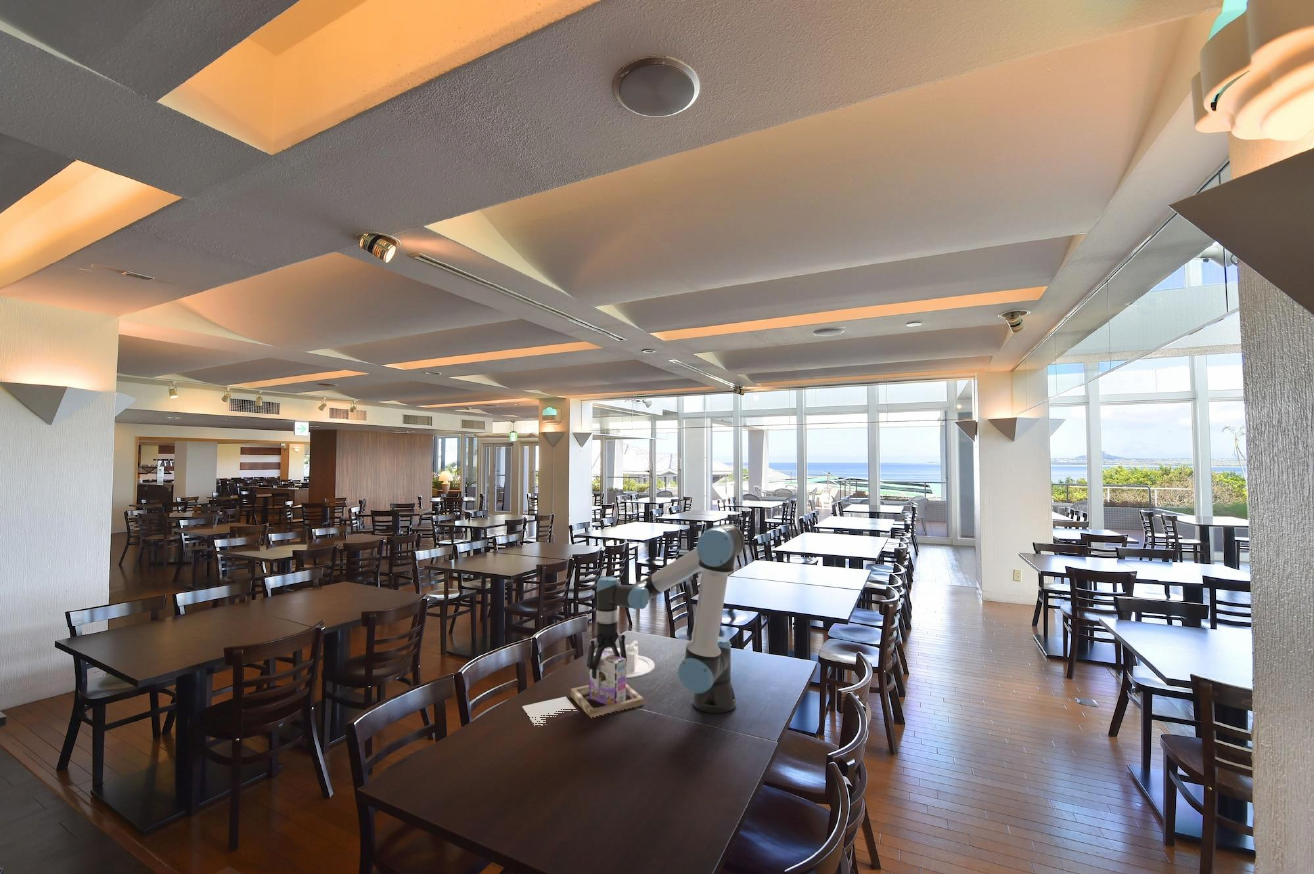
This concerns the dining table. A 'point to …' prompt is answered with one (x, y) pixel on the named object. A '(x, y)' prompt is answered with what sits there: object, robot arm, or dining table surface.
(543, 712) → the place mat
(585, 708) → the pocket frame
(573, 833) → the dining table surface
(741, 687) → the dining table surface
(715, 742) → the dining table surface
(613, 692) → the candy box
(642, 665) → the dish
